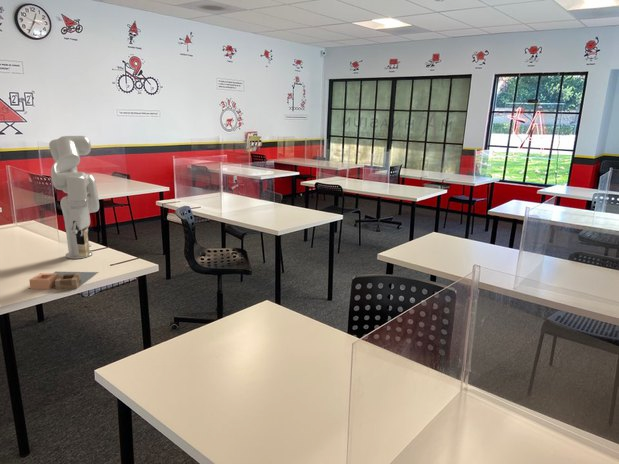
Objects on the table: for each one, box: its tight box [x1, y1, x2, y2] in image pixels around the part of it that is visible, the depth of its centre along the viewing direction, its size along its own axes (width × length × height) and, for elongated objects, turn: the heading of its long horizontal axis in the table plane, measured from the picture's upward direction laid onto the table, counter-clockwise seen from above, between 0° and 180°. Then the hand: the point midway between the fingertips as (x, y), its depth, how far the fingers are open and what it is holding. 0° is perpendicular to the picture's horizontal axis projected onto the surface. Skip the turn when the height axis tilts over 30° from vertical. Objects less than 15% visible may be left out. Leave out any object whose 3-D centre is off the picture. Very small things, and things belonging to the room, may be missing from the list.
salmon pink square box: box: [28, 272, 59, 290], centre depth 191 cm, size 8×8×4 cm
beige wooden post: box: [77, 227, 90, 258], centre depth 202 cm, size 3×3×14 cm
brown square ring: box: [55, 273, 81, 291], centre depth 191 cm, size 8×8×4 cm
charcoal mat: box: [28, 271, 100, 291], centre depth 198 cm, size 21×20×1 cm
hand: (83, 242), depth 202 cm, fingers closed on beige wooden post, 3 cm apart
